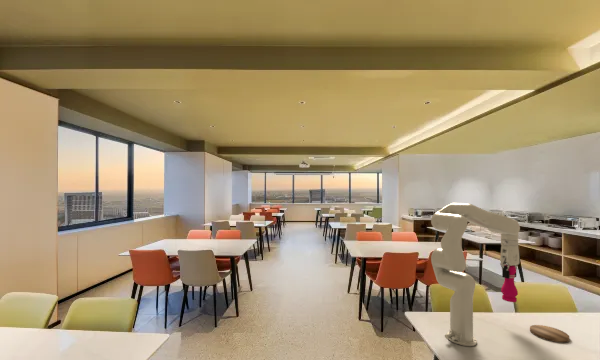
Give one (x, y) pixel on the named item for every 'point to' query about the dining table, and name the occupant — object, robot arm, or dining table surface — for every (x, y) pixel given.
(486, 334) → the dining table surface
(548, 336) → the walnut board
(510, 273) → the pepper mill
